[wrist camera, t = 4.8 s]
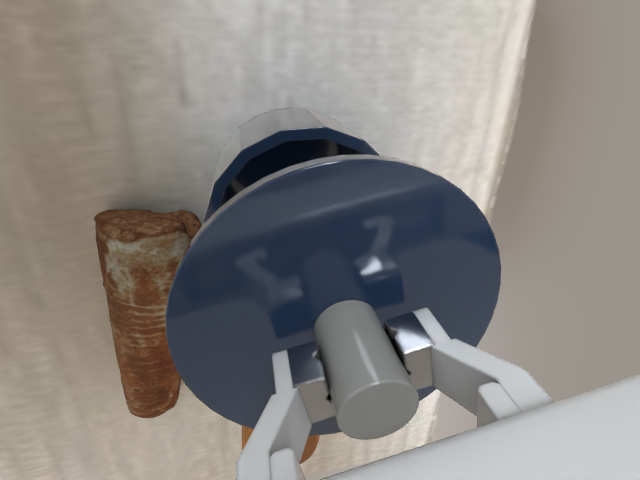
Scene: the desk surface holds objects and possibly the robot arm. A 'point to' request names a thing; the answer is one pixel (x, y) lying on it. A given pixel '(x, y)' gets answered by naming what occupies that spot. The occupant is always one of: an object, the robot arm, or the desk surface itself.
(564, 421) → the robot arm
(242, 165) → the pot
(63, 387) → the desk surface
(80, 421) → the desk surface
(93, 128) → the desk surface
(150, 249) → the bread
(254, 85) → the desk surface
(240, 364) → the pot lid
